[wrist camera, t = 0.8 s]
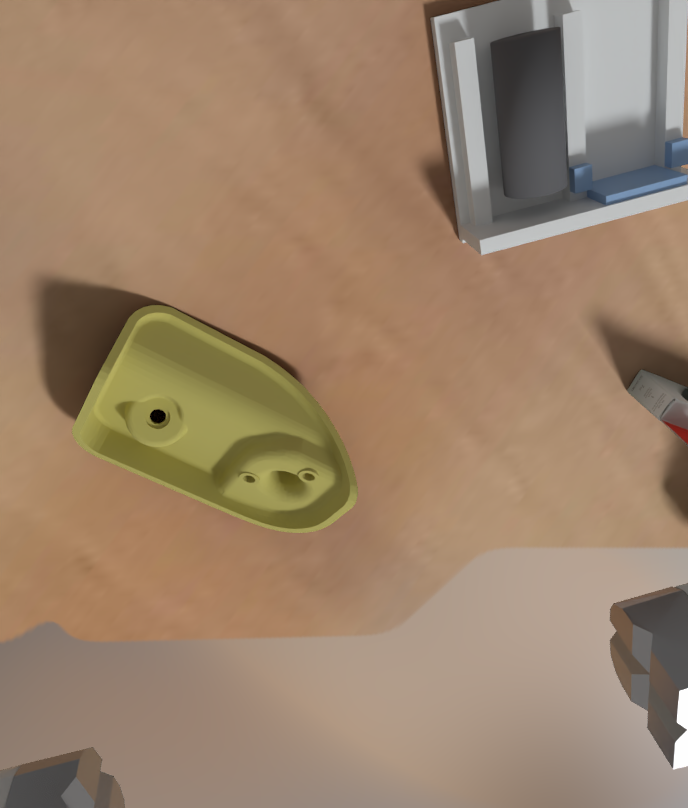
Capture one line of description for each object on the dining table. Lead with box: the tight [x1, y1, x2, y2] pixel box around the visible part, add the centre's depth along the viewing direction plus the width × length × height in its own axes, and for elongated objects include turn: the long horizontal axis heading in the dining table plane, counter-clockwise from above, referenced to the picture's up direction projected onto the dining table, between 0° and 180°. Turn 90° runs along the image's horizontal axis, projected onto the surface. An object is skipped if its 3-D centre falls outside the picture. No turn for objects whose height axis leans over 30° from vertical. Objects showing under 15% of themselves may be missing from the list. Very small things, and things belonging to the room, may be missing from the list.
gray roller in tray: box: [490, 27, 567, 199], centre depth 41 cm, size 9×4×4 cm, turn 12°
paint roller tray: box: [430, 0, 688, 255], centre depth 42 cm, size 14×16×5 cm
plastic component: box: [72, 305, 358, 533], centre depth 49 cm, size 20×7×10 cm
